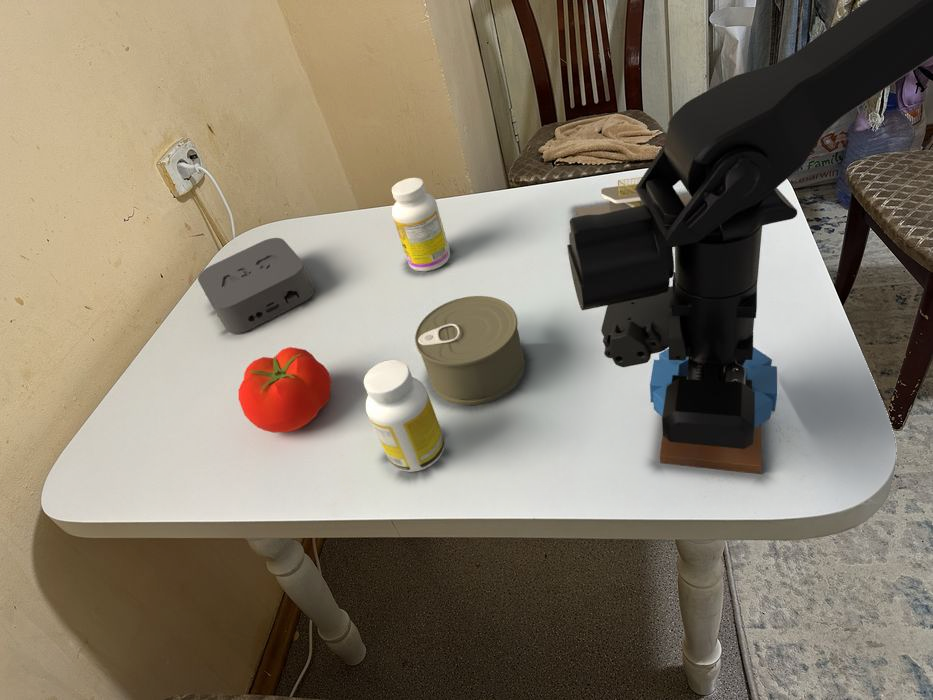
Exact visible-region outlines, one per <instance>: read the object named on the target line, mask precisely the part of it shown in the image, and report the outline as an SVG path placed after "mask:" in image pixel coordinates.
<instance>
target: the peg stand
mask: <svg viewBox="0 0 933 700" xmlns="http://www.w3.org/2000/svg"><path fill="white" fill-rule="evenodd" d="M762 439H763V423H762V424H761V425H759V426H757V427H756V428H754V438H753V444H752V445H750V446H748V447H747V448H745V449H740V448H729V447H719V446H709V445H698V444H688V443H678V442H670V441H668V440H667V439H666V438H665V437H664V436H663V435H662V436H661V442H660V451H659V463H660V464H665V465H676V466H685V467H693V468H701V469H702V468H703V469H710V470H711V469H712V470H721V471H731V472H738V473H749V474H756V475H757V474H758V475H761V473H762V466H763V465H762V464H763V463H762V462H763V461H762V460H763V458H762V457H763V454H762V453H763V440H762Z"/></svg>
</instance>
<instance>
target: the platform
mask: <svg viewBox="0 0 933 700" xmlns="http://www.w3.org/2000/svg"><path fill="white" fill-rule="evenodd" d="M642 177H643V176H640V177H633V178H632V177H631V178H624V179H618V180H617V186H608V187H603V188H601V190H600V191H601V198H602V199H605V200H607V201H609V203H607V204H599V205H591V206H583V207H576V217H579V216H584V215H599V214H604V213H609V212H614V211H618V210H623V209H627V208H632V207H636V206H641V199H640V198H639V196H638V194H637V192H636V186H637V185H638V183H639V182H640V180H641V179H642ZM636 180H637V182H636ZM629 181H630V182H629ZM678 196H679V197H680V199H681V200H682V202H683V204H684V205H685V207H686V205H687V204H688V202H689V201H690V200H691V198H692V197H691V195H690V194H689V193H685V194H678Z"/></svg>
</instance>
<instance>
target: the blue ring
mask: <svg viewBox="0 0 933 700" xmlns="http://www.w3.org/2000/svg"><path fill="white" fill-rule="evenodd" d="M658 358H659V359H653V363H652V369H651V375H650V381H649V394H650V403H652V404H653V410H654V411H655V412H656V413H657V414H658V415H659V416H661V417H662V416H663V409H664V402H665V394H666V387H667V386H668V385H669V384H671V382H672V375H681V376H687V369H688V360H689V357H686V360H685V361H680V360H669V348H667V349H666V350H664V351H662V352H659V353H658ZM772 364H773V359H772V358H771V357H769V356H768V355H766V354H764V353H763V352H762V351H760V350H759V349H757V348H756V347H754V346H753V357H752V360H746V361H745V363H744V364H743V367H744V368H745V370H746V374H745V379H747V380H752V390H753V391H754V392H755V428H756V427H757V426H759V425H761V424H762V425H763V424H765V423H766V422H767V421H769V420H771V417H772V413H773V412H776V408H777V400H778V367H777V366H776V365H775V366H774V365H772Z"/></svg>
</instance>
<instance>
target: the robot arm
mask: <svg viewBox="0 0 933 700" xmlns="http://www.w3.org/2000/svg"><path fill="white" fill-rule="evenodd" d="M932 58H933V0H866V1H865V2H863V3H862V4H860V5H859V6H858V7H857V8H854V9H853V10H851V12H849V13H848V14H847V15H845V16H844V17H842V18H841V19H840V20H838V21H837V22H836V23H834V24H833V25H831V26H830V27H829V28H827V29H826V30H824V31H823V32H822V33H820V34H819V35H818V36H816V37H815V38H814V39H812V40H810V41H809V42H808V43H806V44H805V45H804V46H802V47H801V48H800V49H798V50H797V51H796V52H794V53H792V54H790V55H789V56H787V57H785V58H783V59H782V60H779V61H777V62H775V63H774V64H770V65H766V66H763V67H759V68H756V69H754V70H749V71H746V72H743V73H740V74H739V73H738V74H736V75H734V76H732V77H730V78H728V79H726V80H724V81H723V82H721V83H719V84H717V85H716V86H713V87H712V88H710V89H708V90H706V91H704V92H702V93H701V94H699V95H696V96H694V97H693V98H691V99H690V100H688V101H687V102H685V103H684V104H682V106H681V107H680V108H679V109H678V110H677V111H675V113H673V115H672V117H671V118H670V120H669V121H668V124H667V126H668V127H667V130H666V134H665V137H664V141H663V142H664V144H663V145H662V147H661V148H660V150H659V151H658V153H657V154H656V156H655V158H654V159H653V161H652V162H651V164H650V165H649V167H648V168H647V169H646V170H645V172H644V174H643V176H641V177H642V179H641V178H640V179H639V183H638V182H637V183H638V185H637V186H636V192H637V194H638V196H639V198H640V199H641V206H636V207H632V208H627V209H623V210H618V211H614V212H609V213H604V214H599V215H584V216H579V217H577V216H575V217H572V218H570V220H569V228H570V231H569V233H568V237H569V238H568V239H569V244H567V254H568V260H569V266H570V271H571V276H572V281H573V287H574V290H575V295H576V299H577V302H578V305H579V307H580V310H581V311H587V310H591V309H597V308H601V307H606V308H605V314H604V317H603V320H602V325H601V329H600V331H601V334H602V335H603V337H602V343H603V345H604V352H603V354H604V357H606V358H608V359H612V361H613V363H614V364H615V365H616V366H618V367H621V368H629V367H632V366H633V367H634V366H638V365H643V364H647V363H648V362H650V360H651V357H652V355H653V354H660V353H662V352H663V351H665V350H667V349H669V360H680V361H685V360H686V357H689V360H688V369H687V376H681V375H672V382H671V384H669V385H668V386H667V387H666V394H665V402H664V409H663V416H661V425H662V427H661V428H662V429H661V430H662V436H664V437H665V438H666V439H667V440H668V441H670V442H678V443H688V444H698V445H709V446H719V447H729V448H740V449H745V448H747V447H748V446H750V445H752V444H753V438H754V428H755V392H754V391H753V390H752V380H747V379H745V374H746V370H745V368H744V367H743V364H744V363H745V361H746V360H752V357H753V347H754V329H755V328H754V325H755V319H757V310H758V281H759V280H758V279H759V271H760V270H759V269H760V259H761V258H760V257H761V246H762V245H761V244H762V235H763V234H762V232H763V226H766V225H771V224H775V223H780V222H784V221H785V222H786V221H789V220H793V219H795V218H796V217H797V216H798V209H797V208H796V207H795V206H794V205H793V204H792V203H791V202H790V201H789V200H788V199H787V197H786V196H785V195H784V194H783V192H781V190H780V189H779V188H778V187H779V186H780V185H782V184H783V183H784V182H785V181H786V180H788V179H789V178H790V177H791V176H792V175H793V174H795V173H796V172H797V171H798V170H800V169H801V168H802V167H803V166H804V164H805V163H806V162H807V160H808V158H809V157H810V155H811V153H812V152H813V150H814V149H815V147H816V146H817V144H818V142H819V141H820V139H821V138H822V136H823V135H824V134H825V133H826V132H827V131H829V129H831V127H833V126H834V125H835V124H836V123H838V121H840V120H841V119H842V118H843V117H845V116H846V115H848V114H849V113H851V112H853V111H854V110H855V109H857V108H859V107H860V106H861V105H863V104H864V103H866V102H868V101H869V100H870V99H872V98H874V97H875V96H877V95H878V94H879V93H881V92H883V91H884V90H885V89H887V88H889V87H890V86H892V85H893V84H894V83H896V82H897V81H899V80H900V79H902V78H904V77H905V76H907V75H909V74H910V73H911V72H912V71H914V70H916V69H917V68H919V67H921V66H922V65H923V64H925V63H926V62H928V61H929V60H930V59H932ZM679 182H681V183H682V185H683V186H684V188H685V190H686V191H687V193H688V194H690V195H691V197H692V198H691V200H690V201H689V202H688V204H687V205H686V207H685V205H684V204H683V202H682V200H681V199H680V197H679V196H678V195H679V194H678V193H677V191H676V190H675V188H674V186H675V185H676V184H677V183H679ZM673 248H674V250H673ZM673 251H674V252H673ZM670 279H672V285H671V286H670Z"/></svg>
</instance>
